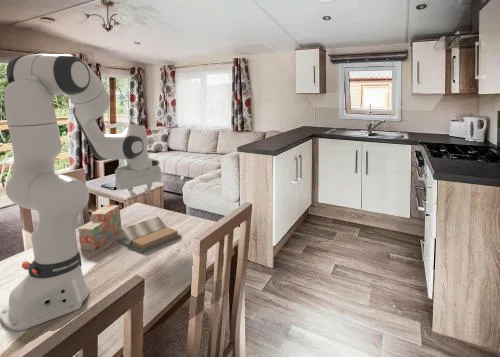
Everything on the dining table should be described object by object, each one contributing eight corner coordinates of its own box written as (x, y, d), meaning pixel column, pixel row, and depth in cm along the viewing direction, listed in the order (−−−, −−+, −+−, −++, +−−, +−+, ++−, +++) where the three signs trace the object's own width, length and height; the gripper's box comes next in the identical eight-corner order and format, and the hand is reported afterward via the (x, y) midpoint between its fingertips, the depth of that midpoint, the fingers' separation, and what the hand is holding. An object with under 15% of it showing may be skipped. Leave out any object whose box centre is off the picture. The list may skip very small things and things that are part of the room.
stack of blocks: (95, 250, 131) (91, 222, 128) (80, 249, 132) (76, 221, 129) (122, 230, 152) (119, 204, 149) (109, 229, 152) (106, 204, 150)
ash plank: (130, 242, 134) (131, 240, 133) (121, 231, 137) (122, 228, 136) (165, 229, 148) (167, 226, 147) (157, 219, 151) (158, 216, 150)
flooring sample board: (141, 253, 128) (141, 246, 128) (118, 242, 138) (117, 235, 138) (181, 237, 144) (180, 230, 143) (157, 228, 154) (156, 222, 153)
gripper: (119, 168, 126) (122, 202, 129) (162, 160, 142) (164, 191, 145) (110, 166, 130) (113, 199, 133) (153, 159, 145) (155, 188, 149)
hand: (140, 195), depth 139 cm, fingers open, 5 cm apart
